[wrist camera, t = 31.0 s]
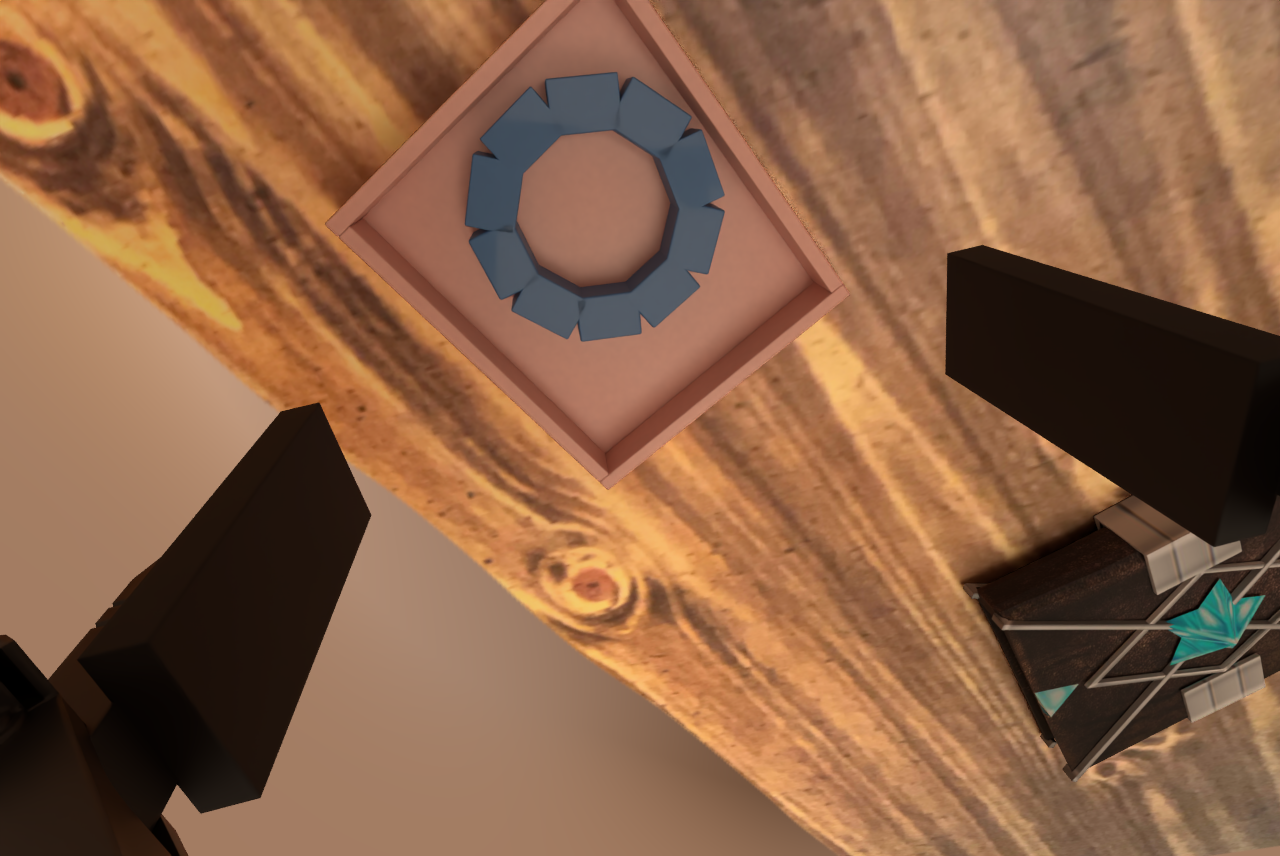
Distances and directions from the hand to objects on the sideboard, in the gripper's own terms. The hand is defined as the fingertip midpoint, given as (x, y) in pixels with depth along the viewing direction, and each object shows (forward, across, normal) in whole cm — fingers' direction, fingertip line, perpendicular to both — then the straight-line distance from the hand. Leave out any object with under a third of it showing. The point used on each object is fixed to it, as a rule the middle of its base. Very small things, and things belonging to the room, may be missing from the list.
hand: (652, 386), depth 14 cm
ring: (+15, 0, +2) cm, 15 cm away
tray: (+15, 0, 0) cm, 15 cm away
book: (+15, +29, -27) cm, 43 cm away
